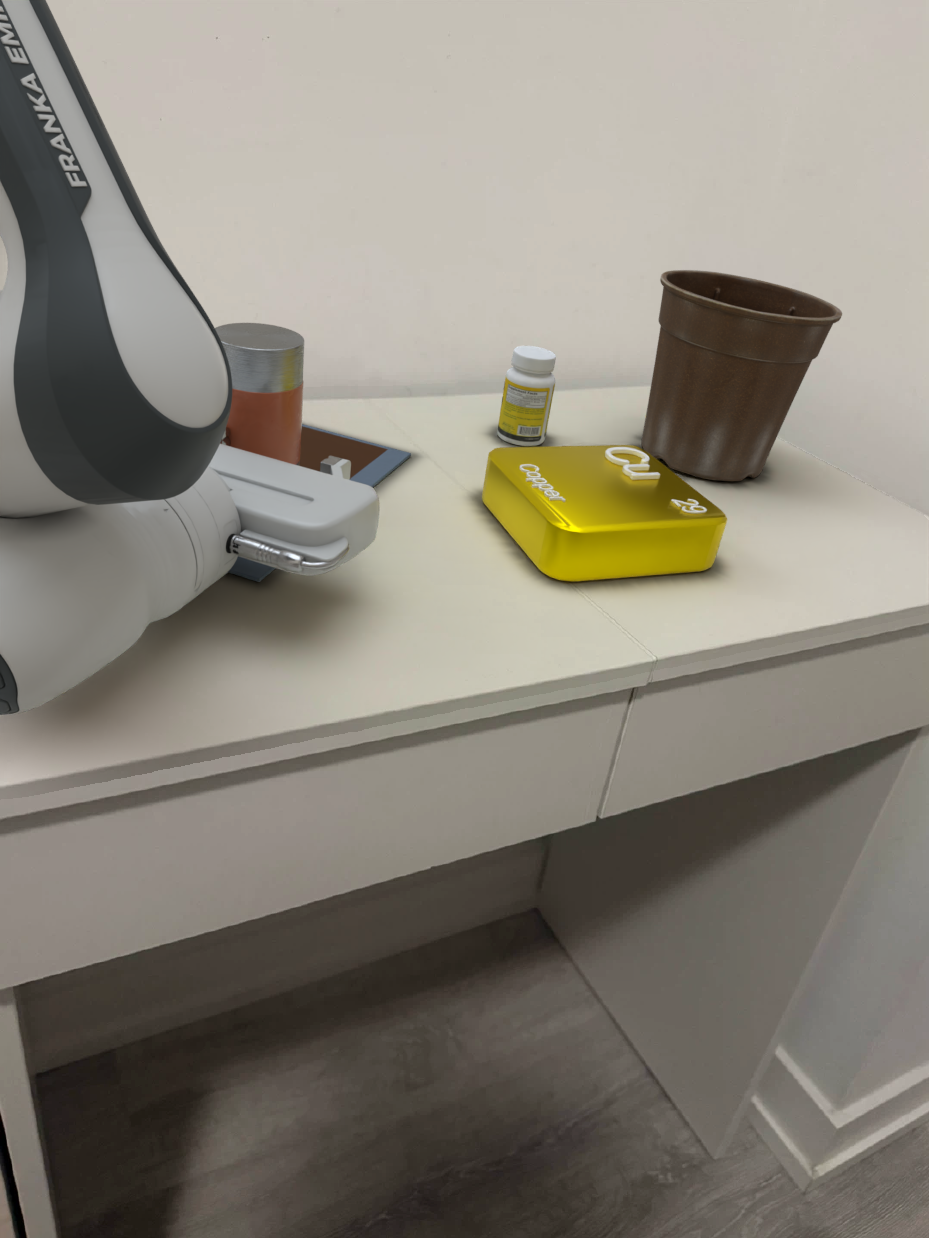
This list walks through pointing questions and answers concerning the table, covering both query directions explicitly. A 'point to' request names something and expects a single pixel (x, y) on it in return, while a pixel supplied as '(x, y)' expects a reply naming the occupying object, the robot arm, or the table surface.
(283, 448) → the tin can
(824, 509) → the table surface
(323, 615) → the table surface
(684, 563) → the element tile
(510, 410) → the supplement bottle
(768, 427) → the plant pot
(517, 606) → the table surface
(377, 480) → the rubber mat
